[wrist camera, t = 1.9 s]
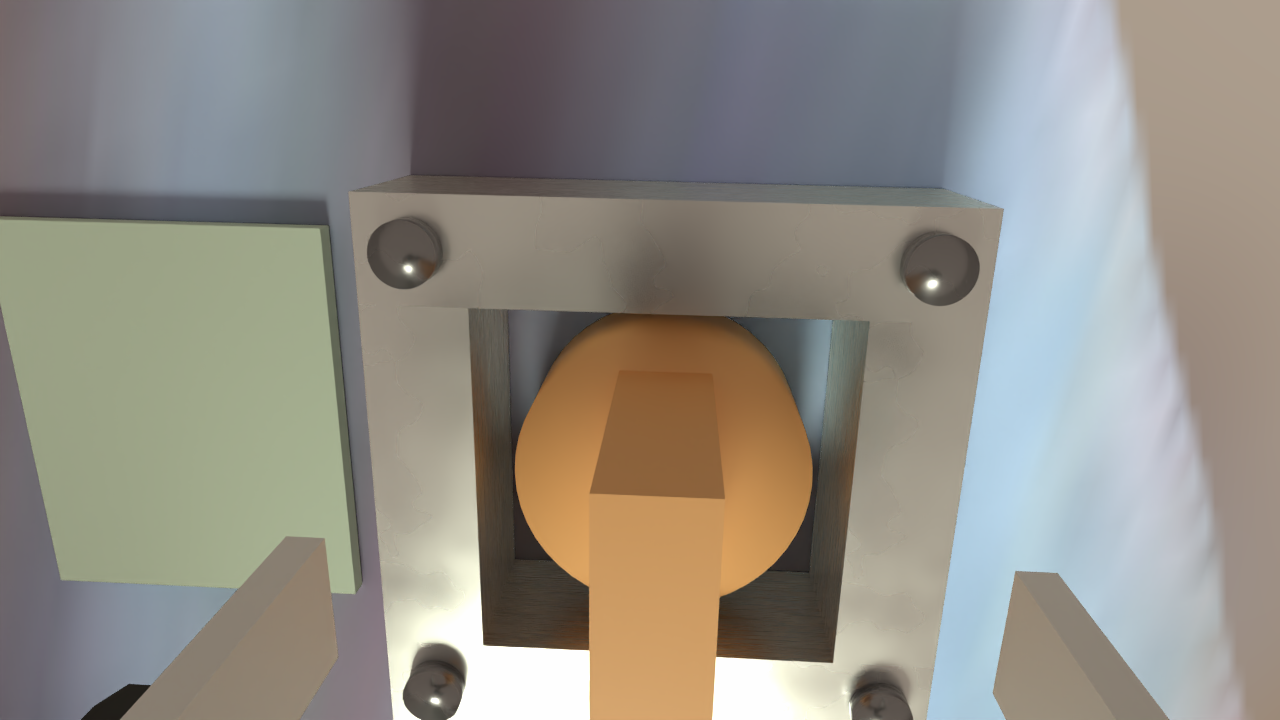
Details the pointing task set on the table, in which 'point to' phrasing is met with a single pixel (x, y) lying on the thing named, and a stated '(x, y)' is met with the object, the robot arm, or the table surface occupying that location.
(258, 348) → the mat
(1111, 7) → the table surface
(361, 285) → the housing
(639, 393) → the orange stamp
